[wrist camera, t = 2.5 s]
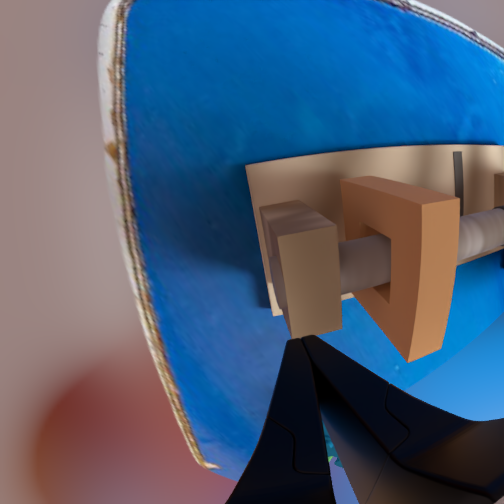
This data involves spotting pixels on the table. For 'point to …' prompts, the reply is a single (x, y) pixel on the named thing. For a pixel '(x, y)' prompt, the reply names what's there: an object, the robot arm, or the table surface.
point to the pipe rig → (333, 229)
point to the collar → (407, 258)
